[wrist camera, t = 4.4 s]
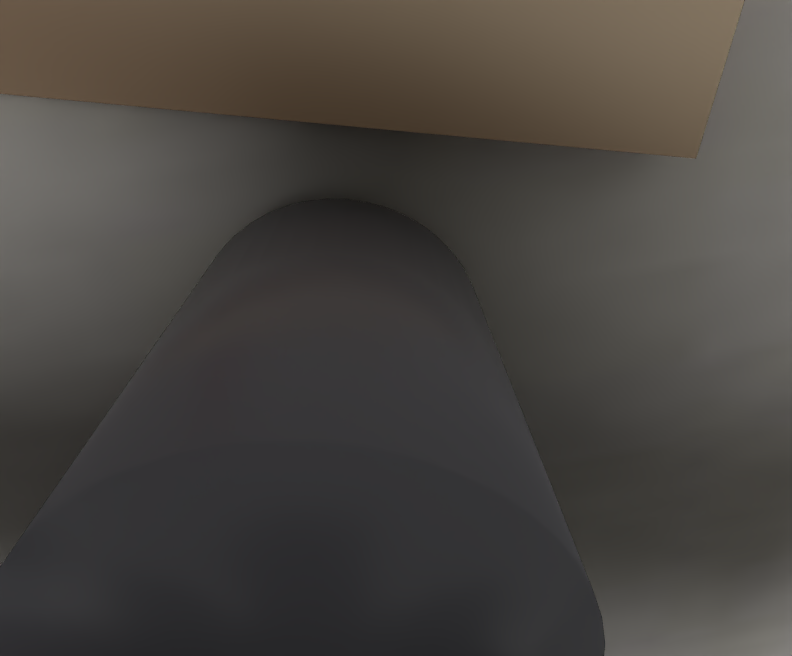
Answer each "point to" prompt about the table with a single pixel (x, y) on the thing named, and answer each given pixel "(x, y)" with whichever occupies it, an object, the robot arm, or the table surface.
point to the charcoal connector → (309, 472)
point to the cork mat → (391, 63)
